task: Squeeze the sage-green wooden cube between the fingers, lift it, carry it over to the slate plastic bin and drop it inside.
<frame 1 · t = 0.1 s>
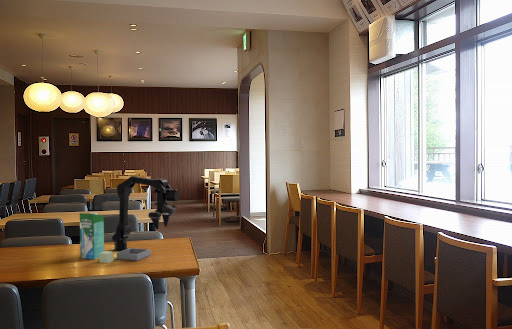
hand: (161, 228, 265), 15 cm above the table, fingers open, 9 cm apart
sage cube: (106, 261, 248), on the table
slate bin: (133, 257, 257), on the table
milk carton: (92, 257, 258), on the table
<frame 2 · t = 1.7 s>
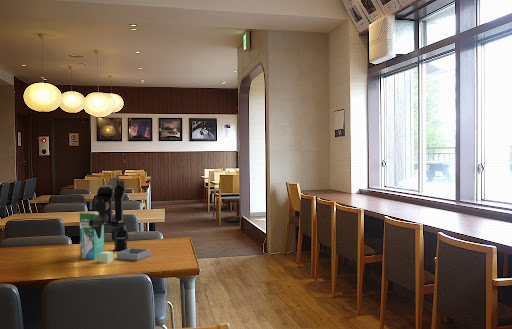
hand: (106, 239, 247), 12 cm above the table, fingers open, 9 cm apart
nothing on the table moved.
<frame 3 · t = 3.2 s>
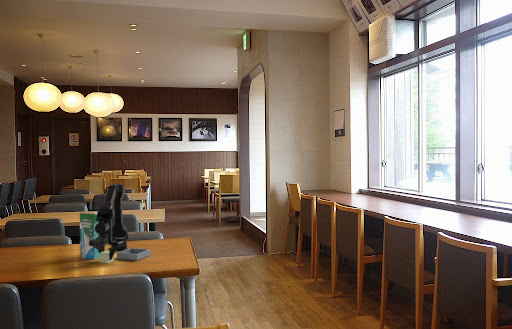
hand: (106, 259, 248), 1 cm above the table, fingers closed on sage cube, 5 cm apart
sage cube: (106, 261, 248), on the table, touching gripper
everything else where it was.
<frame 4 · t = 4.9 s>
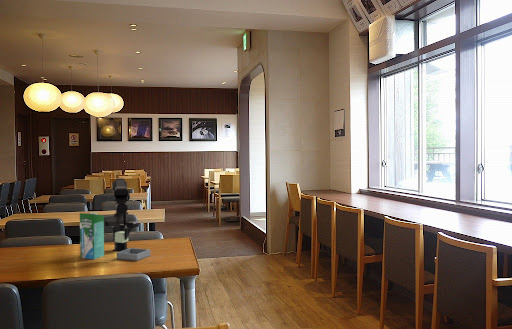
hand: (121, 239, 252), 11 cm above the table, fingers closed on sage cube, 5 cm apart
sage cube: (121, 241, 252), point 10 cm above the table, touching gripper
everything else where it was.
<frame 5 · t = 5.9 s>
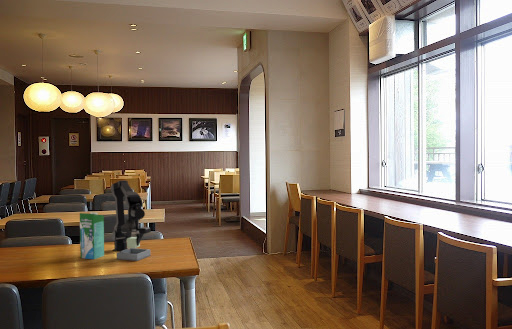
hand: (133, 245, 257), 7 cm above the table, fingers closed on sage cube, 5 cm apart
sage cube: (133, 246, 256), point 6 cm above the table, touching gripper
everything else where it was.
when the fingers open (4 cm above the table, at t = 6.6 s): sage cube drops 3 cm, resting on slate bin.
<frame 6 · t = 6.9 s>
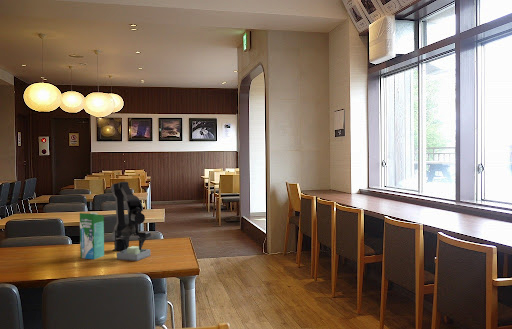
hand: (133, 249, 257), 4 cm above the table, fingers open, 8 cm apart
sage cube: (133, 256, 257), point 1 cm above the table, touching slate bin
everything else where it was.
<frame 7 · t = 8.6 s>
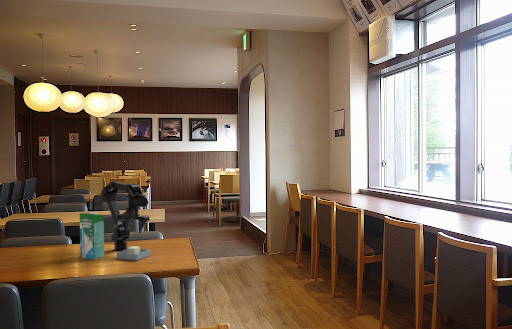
hand: (133, 232, 267), 12 cm above the table, fingers open, 9 cm apart
nothing on the table moved.
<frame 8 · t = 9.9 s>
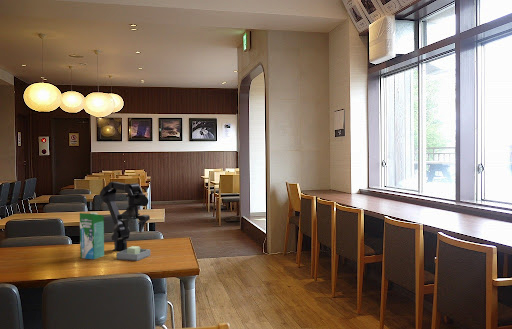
hand: (133, 232, 267), 12 cm above the table, fingers open, 9 cm apart
nothing on the table moved.
at the end: sage cube inside the target area on the slate bin (0.1 cm from its centre), point 0.6 cm above the slate bin's base; the gripper is holding nothing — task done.
